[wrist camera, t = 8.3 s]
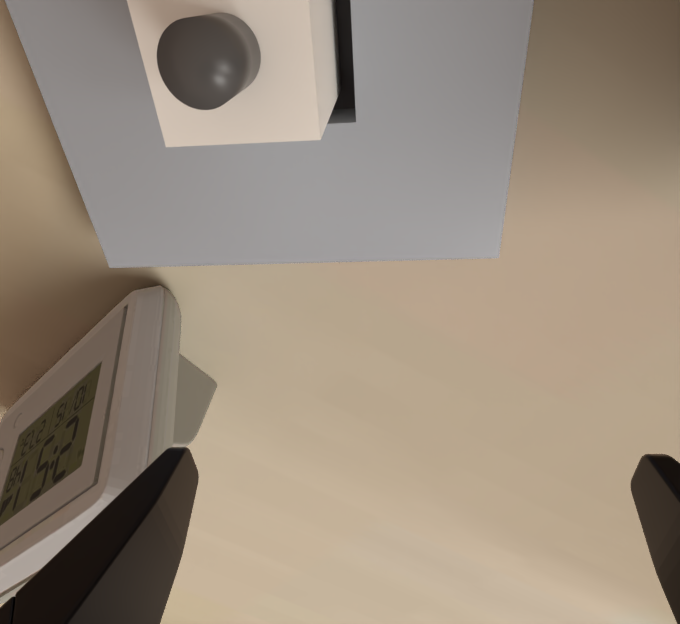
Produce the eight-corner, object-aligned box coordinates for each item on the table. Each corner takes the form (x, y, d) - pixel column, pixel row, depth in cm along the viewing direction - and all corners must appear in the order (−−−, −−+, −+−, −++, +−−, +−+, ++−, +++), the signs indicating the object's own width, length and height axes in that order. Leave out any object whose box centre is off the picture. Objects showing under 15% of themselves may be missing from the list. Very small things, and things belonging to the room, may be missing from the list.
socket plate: (558, -381, 11) (596, -461, 9) (486, 230, 20) (498, 258, 18) (-48, -287, 13) (-129, -339, 11) (135, 241, 22) (109, 268, 20)
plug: (333, -46, 15) (286, -77, 8) (340, 89, 17) (310, 165, 10) (212, -36, 16) (59, -56, 8) (235, 95, 18) (132, 172, 10)
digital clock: (172, 261, 23) (39, 435, 14) (278, 386, 27) (227, 580, 18) (-29, 374, 28) (-215, 549, 19) (84, 462, 32) (-26, 639, 23)
